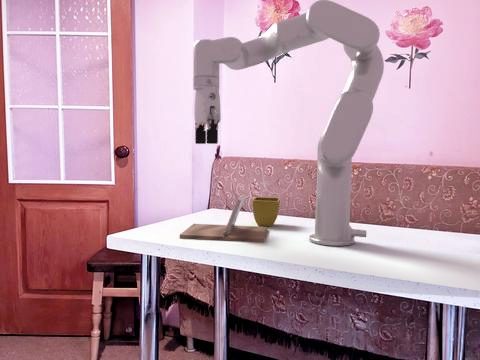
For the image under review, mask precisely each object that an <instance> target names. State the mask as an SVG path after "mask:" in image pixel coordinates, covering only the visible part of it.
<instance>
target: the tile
mask: <svg viewBox="0 0 480 360" xmlns="http://www.w3.org/2000/svg"><path fill="white" fill-rule="evenodd" d="M245 198H246V195H244V194H241V195H240V196H238V198H237V199H236V200H235V201H236V202H235V204H234V207H233V209H232V211H231V214H230V217H229V219H228V222H227V224H226V225H227V227H226V229H225V231H227V232H229V231H230V230H231V229H232V227H233V226H235V225H236V224H235V223H236V221H237V219H238V216H239V214H240V212H241V209H242V206H243V204H244V202H245ZM234 224H235V225H234Z"/></svg>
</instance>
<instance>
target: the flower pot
mask: <svg viewBox="0 0 480 360" xmlns="http://www.w3.org/2000/svg"><path fill="white" fill-rule="evenodd" d="M251 202H252V213H253V218H254V221H255V223H256V225H257V226H258V227H273V226H274V224H275V222H276V220H277V219H278V216H279V211H280V206H281V205H280V202H281V198H280V197H270V196H269V197H267V196H264V197H263V196H255V197H254V198H253V199H252V200H251Z"/></svg>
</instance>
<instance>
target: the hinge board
mask: <svg viewBox="0 0 480 360" xmlns="http://www.w3.org/2000/svg"><path fill="white" fill-rule="evenodd" d="M226 227H227V224H226V225H225V224H210V223H209V224H207V223H193V224H192V225H190V226H189V227H188V228H186V229H185V230H184V231H182V232H181V233H180V234H179V239H188V240H189V239H191V240H207V241H208V240H212V241H229V242H230V241H232V242H250V243H251V242H255V243H265V239H266V235H267V232H268V226H258V225H257V226H254V225H253V226H251V225H250V226H249V225H236V224H234V226H233V227H232V229H231V230H230V231H229V232H227V231H225V229H226Z"/></svg>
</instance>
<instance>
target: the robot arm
mask: <svg viewBox="0 0 480 360" xmlns="http://www.w3.org/2000/svg"><path fill="white" fill-rule="evenodd" d="M379 29H380V28H379V26H378V25H377V24H376V22H375V21H374V20H372V19H371V18H369V17H367V16H366V15H363V14H361V13H359V12H356V11H354V10H352V9H350V8H348V7H346V6H344V5H342V4H340V3H337V2H334V1H332V0H317V1H315V2H313V3H312V4H311V5H310V6H309V7H308V10H307V12H305V13H304V12H303V13H302V14H298V15H295V16H292V17H289V18H285V19H283V20H280V21H277V22H275V23H274V24H272V25H271V26H270V27H269V29H268V30H267V31H265V33H263V34H262V35H260V36H258V37H256V38H254V39H251V40H248V41H245V42H242V41H241V40H240V39H239V38H238V37H235V36H228V37H221V38H217V39H210V38H209V39H206V38H204V39H197V40H196V41H195V42H194V43H193V55H192V57H193V63H192V64H193V69H192V70H193V72H192V74H193V83H192V84H193V86H192V87H193V88H192V89H193V90H194V91H195V95H194V96H195V97H194V121H195V123H194V126H195V128H194V130H195V134H194V135H195V137H194V139H195V141H194V142H195V144H196V145H198V144H199V145H200V144H201V145H204V144H205V145H206V144H207V145H208V144H209V145H210V144H211V145H213V144H214V145H215V144H218V143H219V135H218V134H219V123H220V122H221V120H222V119H221V116H222V115H221V96H220V64H223V65H225V66H226V67H228V69H230V70H234V71H236V70H237V71H238V70H243V69H247V68H250V67H254V66H257V65H260V64H262V63H263V64H264V63H266V62H268V61H270V60H272V59H274V58H278V57H279V56H281V55H283V54H285V53H289V52H291V51H295V50H297V49H301V48H304V47H307V46H311V45H313V44H318V43H320V42H323V41H326V40H329V39H332V40H333V41H335V42H337V43H340V44H341V45H343V50H344V52H345V54H346V55H347V57H348V58H349V59H350V61H351V70H350V72H349V75H348V77H347V79H346V81H345V82H346V83H345V85H344V87H343V89H342V92H341V94H340V95H339V97H338V98H337V100H336V102H335V103H334V104H335V105H334V108H333V110H332V112H331V115H330V117H329V119H328V122H327V123H326V126H325V129H324V131H323V133H322V136H320V137H319V140H318V143H317V148H316V149H317V151H316V152H317V154H316V155H317V160H316V162H317V165H316V169H317V170H316V171H317V172H316V193H315V196H316V197H315V219H314V233H312V234H310V235H309V236H308V237H309V238H308V239H309V241H310V242H311V243H314V244H317V245H323V246H331V247H332V246H333V247H335V246H336V247H341V246H342V247H343V246H351V245H353V244H355V237H359V238H367V233H368V232H367V230H363V229H357V228H356V229H355V228H352V226H351V225H350V220H351V218H350V216H351V194H352V177H353V176H352V175H353V172H352V169H353V168H352V167H353V165H352V163H353V162H352V159H353V157H354V155H355V153H356V151H357V150H358V148H359V145H360V143H361V141H362V139H363V137H364V134H365V132H366V130H367V128H368V125H369V123H370V120H371V119H372V116H373V113H374V104H373V103H374V102H373V100H374V98H375V95H376V94H377V91H378V89H379V85H380V83H381V82H382V81H381V80H382V79H383V75H384V69H385V64H384V57H383V54H382V52H381V50H380V48H379V46H378V43H379V40H380V35H381V34H380V30H379ZM206 127H207V129H206ZM205 129H206V130H205Z"/></svg>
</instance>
